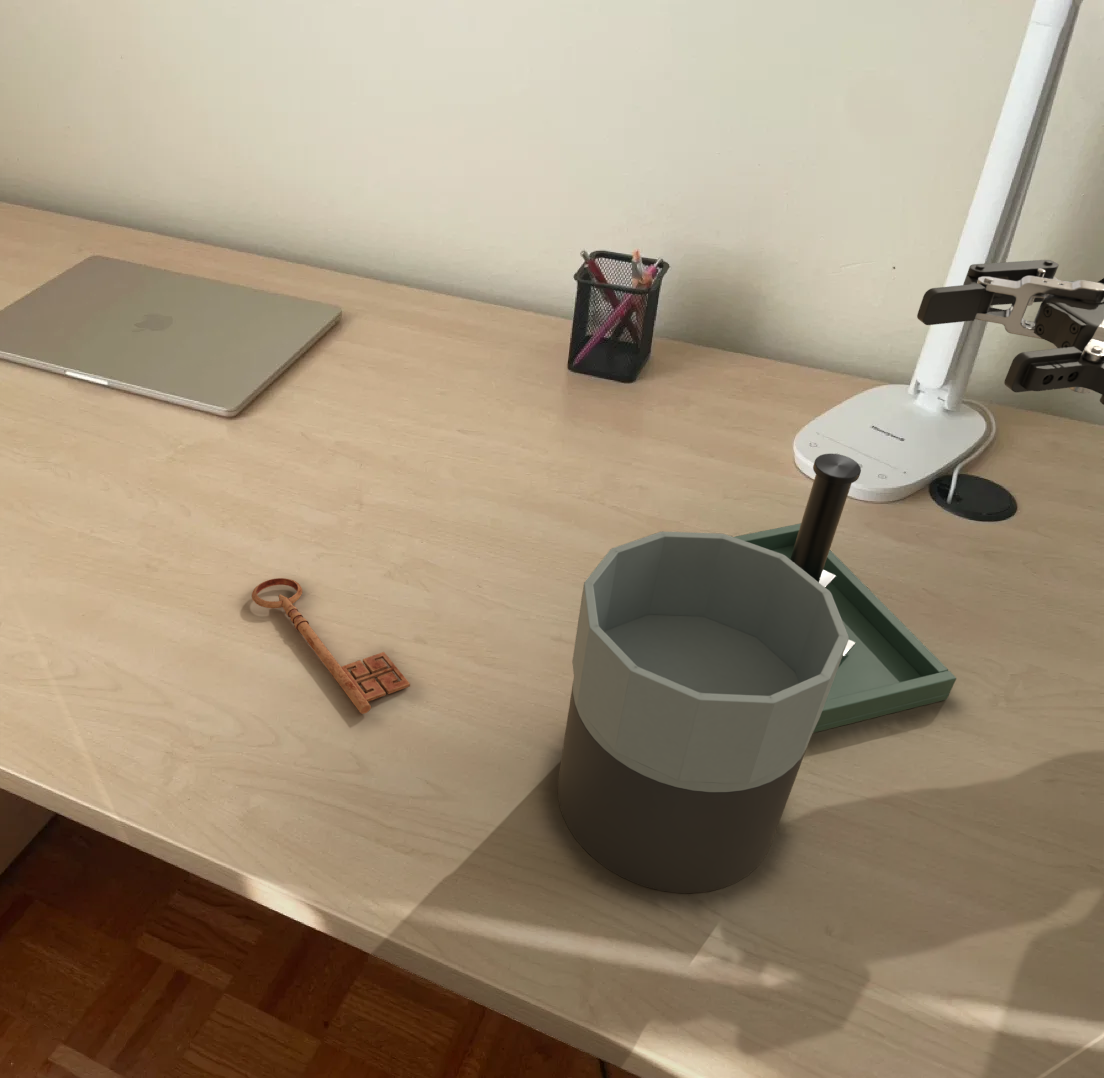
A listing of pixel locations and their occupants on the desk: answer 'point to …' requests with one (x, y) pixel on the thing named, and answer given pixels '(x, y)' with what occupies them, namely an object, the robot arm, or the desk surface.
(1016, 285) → the robot arm
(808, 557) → the blade
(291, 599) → the key
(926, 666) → the tray
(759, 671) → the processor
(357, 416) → the desk surface
